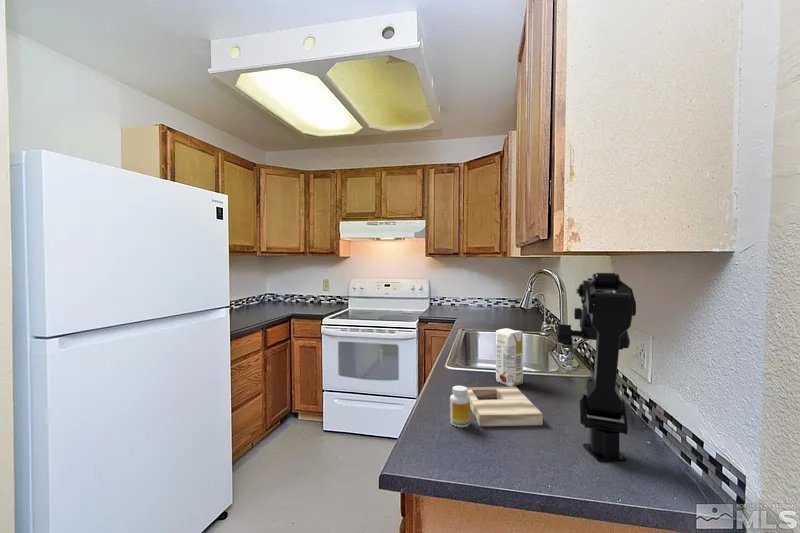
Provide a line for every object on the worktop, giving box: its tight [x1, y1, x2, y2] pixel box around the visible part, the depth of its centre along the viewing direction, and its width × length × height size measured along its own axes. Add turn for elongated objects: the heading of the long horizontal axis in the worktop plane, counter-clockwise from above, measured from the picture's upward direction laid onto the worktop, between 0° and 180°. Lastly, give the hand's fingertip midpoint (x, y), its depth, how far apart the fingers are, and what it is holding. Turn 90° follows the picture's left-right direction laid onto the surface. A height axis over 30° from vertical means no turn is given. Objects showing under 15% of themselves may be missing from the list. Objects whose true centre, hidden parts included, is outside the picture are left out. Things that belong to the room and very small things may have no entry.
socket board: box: [466, 386, 544, 427], centre depth 103 cm, size 20×17×3 cm
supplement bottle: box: [449, 385, 471, 428], centre depth 95 cm, size 5×5×10 cm
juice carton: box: [495, 327, 524, 387], centre depth 125 cm, size 8×9×19 cm
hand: (589, 354), depth 108 cm, fingers open, 9 cm apart
